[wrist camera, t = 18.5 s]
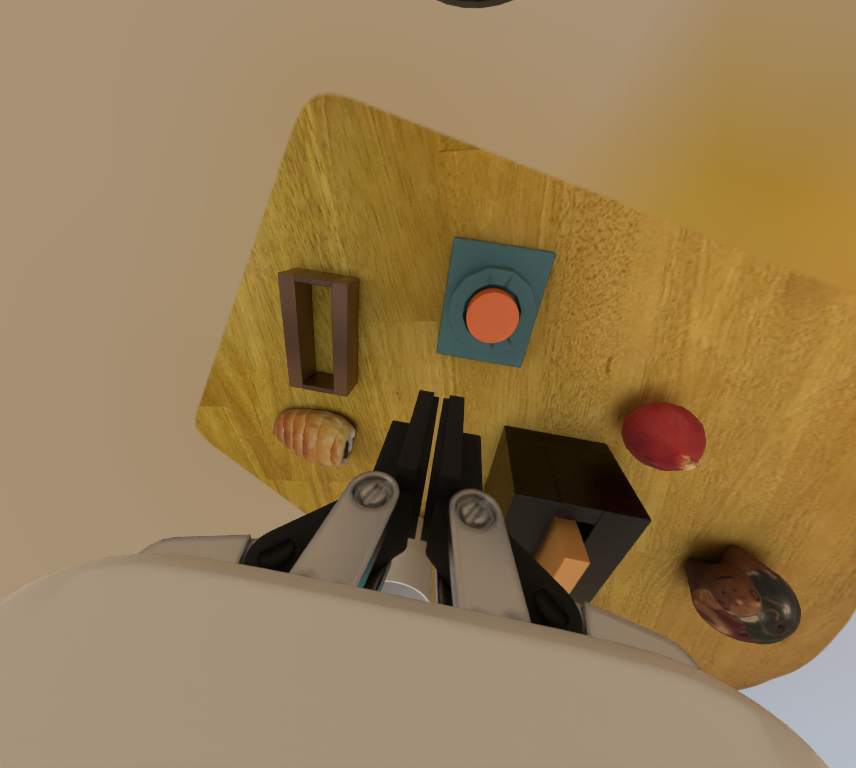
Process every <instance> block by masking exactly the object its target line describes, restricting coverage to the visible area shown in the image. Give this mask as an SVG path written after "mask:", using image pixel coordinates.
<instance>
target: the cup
mask: <svg viewBox="0 0 856 768" xmlns="http://www.w3.org/2000/svg"><path fill="white" fill-rule="evenodd" d="M423 521H424V519H423V518H422V517H421V516H419V519H418V525H417V530H416V536H415V539H410V538H408V543H407V548H406V549H405V551H404V552H403V553H401V554H399V555H398V556H396V557H395V558H393V559H392V564H391V567H390V570H389V572H388V575H387V577H386V580H385V583H384V585H383V588H382V590H381V592H384V593H389V594H394V595H398V596H403V597H408V598H413V599H418V600H423V601H428V602H430V592H431V573H432V566H431V561H430V560H429V559H428V557H427V556H426V553H425V551H426V544H427V542H425V541H420V539H421V533H422V527H423Z"/></svg>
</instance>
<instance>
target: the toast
mask: <svg viewBox="0 0 856 768" xmlns="http://www.w3.org/2000/svg"><path fill="white" fill-rule="evenodd" d="M534 559H535V560H536V561H537V562H538V563H539V564H540V565H541V566H542V567H543V568H544V569H545V570H546V571H547V572H548V573H549V574H550V575H551V576H552V577H553V578H554V579H555V580H556V581H557V582H558V583H559V584H560V585H561V586H562V587H563V588H564V589H565V590H566V591H567V592H568V594H570V592H571V591H572V589H573V588H574V586H575V585H576V583H577V582H578V580H579V579H580V577H581V576H582V575H583V573H584V572H585V570H586V569H587V567H588V566H589V564H590V561H589V558H588V555H587V552H586V549H585V546H584V543H583V540H582V537H581V534H580V531H579V528H578V525H577V522H576V521H574V520H569V519H564V518H558V517H555V516H554V518H553V520H552V522H551V524H550V526H549V528H548V530H547V532H546V534H545V536H544V538H543V540H542V542H541V544H540V546H539V548H538V550H537V552H536V554H535V556H534Z"/></svg>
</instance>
